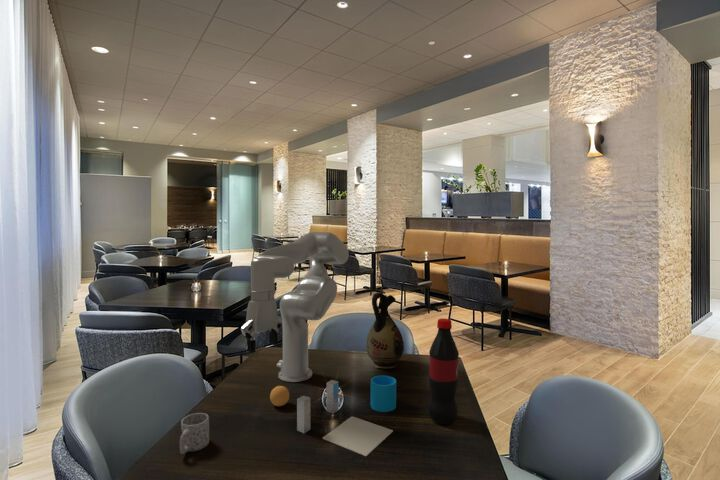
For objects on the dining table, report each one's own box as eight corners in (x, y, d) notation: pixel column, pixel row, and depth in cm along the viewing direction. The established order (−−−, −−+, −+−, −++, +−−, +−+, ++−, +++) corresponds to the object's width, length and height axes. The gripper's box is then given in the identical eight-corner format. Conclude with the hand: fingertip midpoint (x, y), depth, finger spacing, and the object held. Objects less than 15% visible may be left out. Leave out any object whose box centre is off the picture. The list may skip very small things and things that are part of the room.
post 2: (326, 411, 118) (326, 382, 117) (331, 408, 120) (331, 379, 120) (333, 413, 116) (333, 384, 116) (338, 410, 119) (338, 381, 118)
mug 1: (190, 436, 104) (190, 412, 103) (213, 437, 103) (213, 413, 103) (168, 458, 94) (167, 432, 94) (194, 460, 93) (193, 434, 93)
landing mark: (322, 438, 103) (322, 437, 103) (351, 416, 115) (351, 416, 115) (366, 456, 95) (366, 455, 95) (393, 431, 107) (393, 430, 107)
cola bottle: (458, 415, 116) (460, 317, 115) (456, 429, 108) (458, 324, 107) (430, 410, 119) (432, 314, 118) (426, 423, 111) (427, 321, 110)
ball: (265, 406, 121) (265, 387, 120) (279, 399, 126) (279, 381, 125) (279, 411, 117) (279, 392, 117) (293, 404, 122) (293, 385, 122)
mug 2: (398, 411, 118) (398, 385, 118) (371, 412, 118) (371, 386, 117) (392, 394, 130) (392, 370, 130) (368, 394, 130) (368, 371, 129)
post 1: (297, 430, 107) (297, 398, 106) (303, 426, 109) (303, 395, 109) (304, 433, 105) (304, 401, 105) (310, 429, 108) (310, 397, 107)
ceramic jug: (383, 355, 167) (383, 287, 166) (411, 365, 156) (412, 292, 155) (355, 365, 156) (355, 292, 154) (383, 376, 145) (384, 298, 143)
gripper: (273, 291, 134) (273, 339, 135) (233, 298, 119) (233, 353, 120) (289, 293, 130) (289, 343, 131) (250, 301, 116) (250, 357, 116)
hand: (262, 347), depth 125 cm, fingers open, 9 cm apart
